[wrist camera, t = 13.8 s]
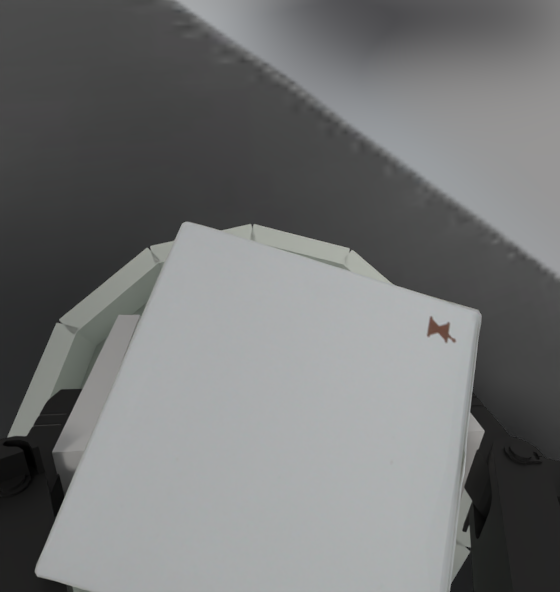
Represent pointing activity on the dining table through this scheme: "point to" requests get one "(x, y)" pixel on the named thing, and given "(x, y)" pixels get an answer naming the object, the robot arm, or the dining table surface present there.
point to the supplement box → (274, 434)
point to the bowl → (131, 301)
